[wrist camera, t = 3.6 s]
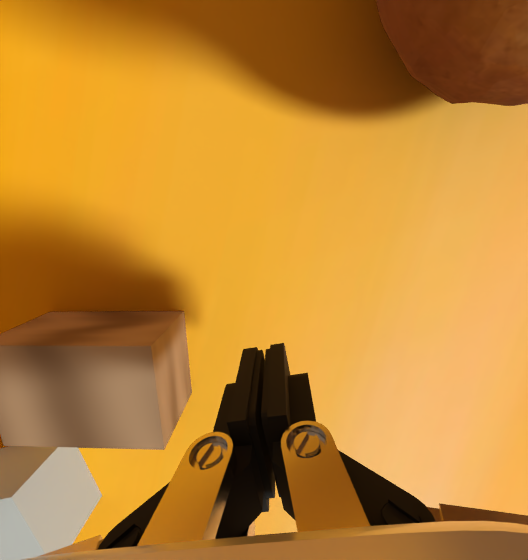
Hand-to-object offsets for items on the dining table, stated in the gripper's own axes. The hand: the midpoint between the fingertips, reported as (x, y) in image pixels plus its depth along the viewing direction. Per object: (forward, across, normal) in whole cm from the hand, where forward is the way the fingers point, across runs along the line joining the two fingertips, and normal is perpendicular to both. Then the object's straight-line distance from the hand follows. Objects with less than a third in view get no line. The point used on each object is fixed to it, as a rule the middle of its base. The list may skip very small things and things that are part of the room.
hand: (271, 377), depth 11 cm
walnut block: (+7, +11, +1) cm, 13 cm away
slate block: (+6, +21, +10) cm, 24 cm away
